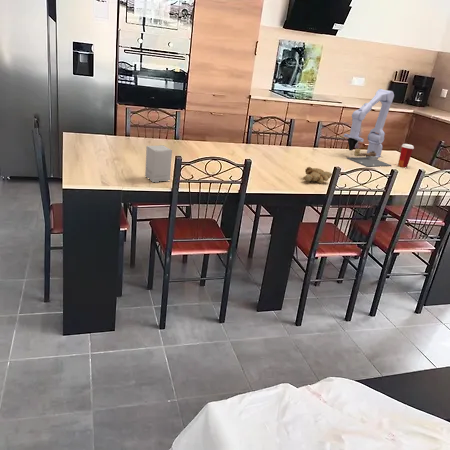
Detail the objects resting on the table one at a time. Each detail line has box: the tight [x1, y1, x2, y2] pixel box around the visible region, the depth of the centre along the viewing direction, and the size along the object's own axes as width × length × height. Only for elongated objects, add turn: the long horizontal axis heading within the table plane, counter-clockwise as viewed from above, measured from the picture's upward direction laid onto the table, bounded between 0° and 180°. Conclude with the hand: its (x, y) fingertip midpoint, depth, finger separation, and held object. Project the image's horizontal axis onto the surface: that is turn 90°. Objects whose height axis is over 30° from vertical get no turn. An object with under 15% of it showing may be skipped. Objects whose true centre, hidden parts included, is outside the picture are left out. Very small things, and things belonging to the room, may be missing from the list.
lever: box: [353, 147, 376, 157], centre depth 293 cm, size 18×4×4 cm, turn 117°
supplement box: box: [144, 145, 173, 183], centre depth 205 cm, size 9×9×15 cm
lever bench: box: [346, 156, 392, 168], centre depth 289 cm, size 21×19×3 cm
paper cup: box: [397, 143, 415, 168], centre depth 288 cm, size 8×8×14 cm
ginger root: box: [302, 166, 333, 184], centre depth 235 cm, size 16×16×8 cm
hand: (350, 150), depth 294 cm, fingers closed
